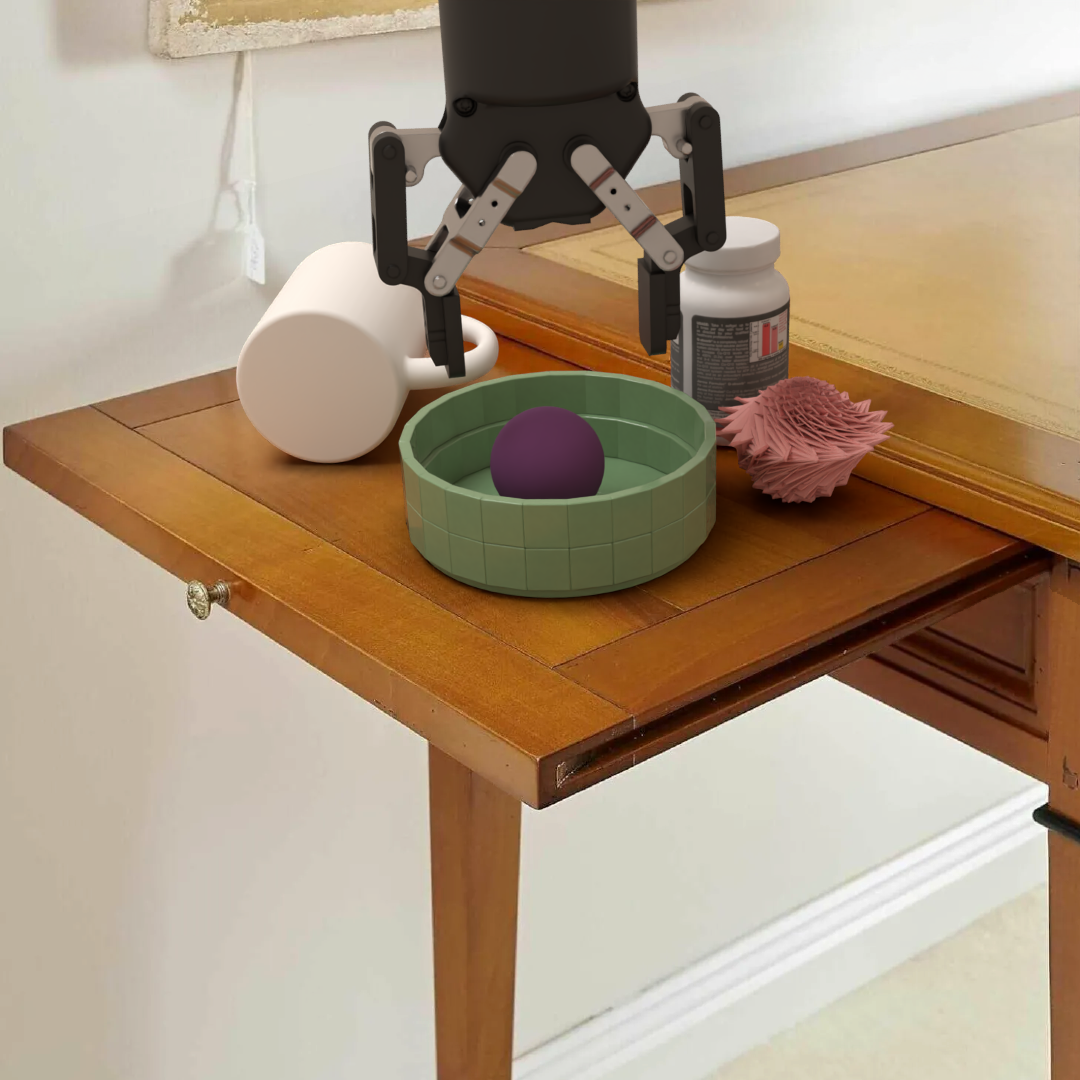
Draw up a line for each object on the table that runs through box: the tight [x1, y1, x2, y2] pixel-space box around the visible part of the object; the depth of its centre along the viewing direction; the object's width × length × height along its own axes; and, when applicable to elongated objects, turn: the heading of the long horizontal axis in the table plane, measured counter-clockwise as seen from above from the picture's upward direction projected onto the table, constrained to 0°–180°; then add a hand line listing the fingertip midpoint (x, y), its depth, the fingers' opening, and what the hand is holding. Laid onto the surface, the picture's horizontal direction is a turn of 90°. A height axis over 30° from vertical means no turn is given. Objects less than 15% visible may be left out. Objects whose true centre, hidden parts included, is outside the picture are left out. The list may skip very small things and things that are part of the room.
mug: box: [235, 241, 500, 464], centre depth 81 cm, size 12×10×8 cm
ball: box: [490, 406, 605, 499], centre depth 71 cm, size 5×5×5 cm
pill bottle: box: [669, 215, 791, 447], centre depth 78 cm, size 6×6×10 cm
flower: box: [713, 375, 895, 504], centre depth 73 cm, size 8×8×6 cm
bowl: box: [398, 370, 717, 599], centre depth 71 cm, size 14×14×4 cm
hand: (555, 359), depth 69 cm, fingers open, 8 cm apart
